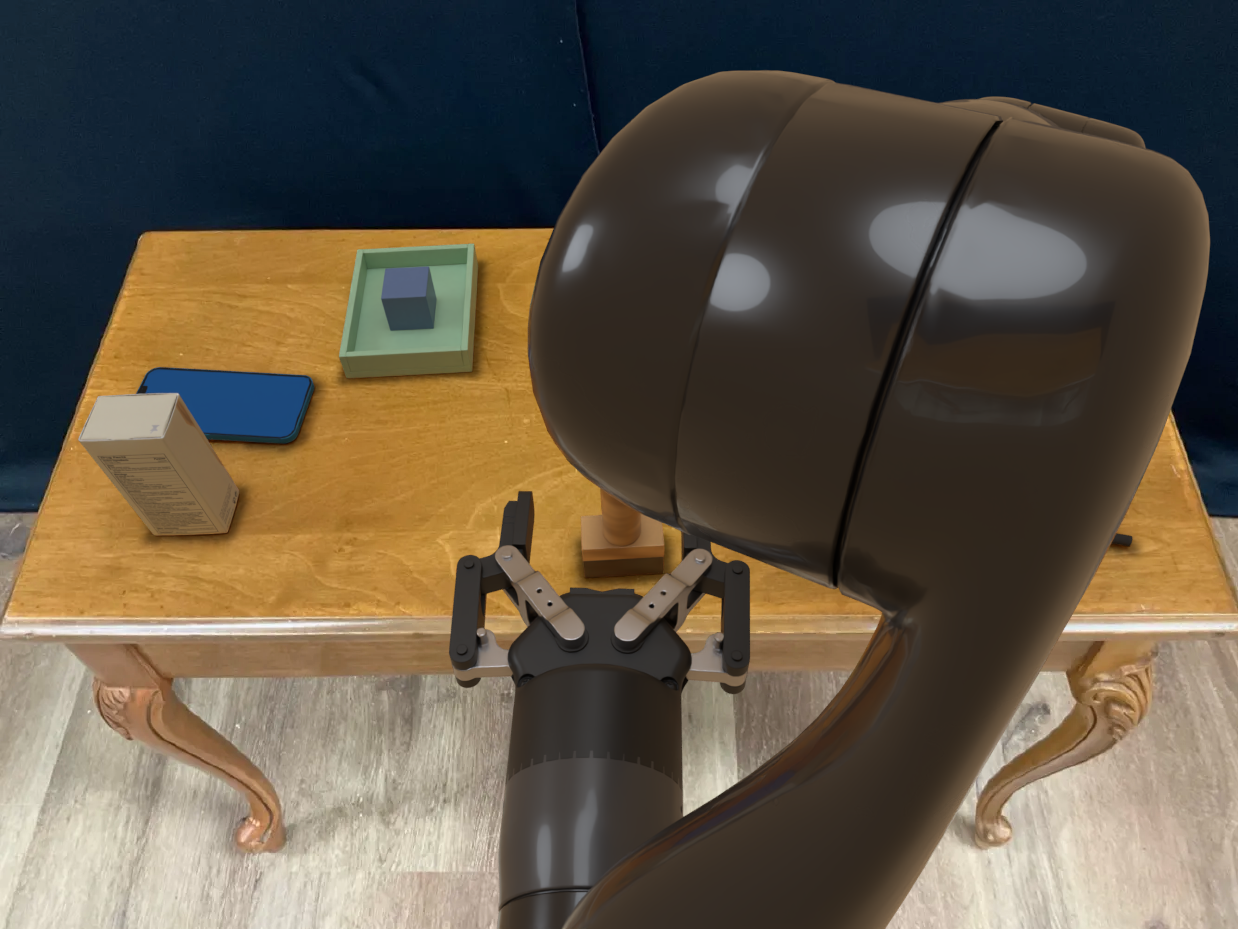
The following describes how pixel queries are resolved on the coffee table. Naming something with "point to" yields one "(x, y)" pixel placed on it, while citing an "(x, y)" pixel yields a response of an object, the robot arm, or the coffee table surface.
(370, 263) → the tray
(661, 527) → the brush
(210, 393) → the smartphone
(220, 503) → the cosmetic box
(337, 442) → the coffee table surface
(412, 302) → the block
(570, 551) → the coffee table surface
